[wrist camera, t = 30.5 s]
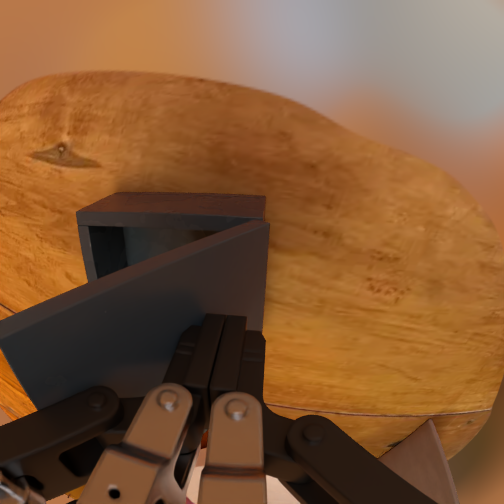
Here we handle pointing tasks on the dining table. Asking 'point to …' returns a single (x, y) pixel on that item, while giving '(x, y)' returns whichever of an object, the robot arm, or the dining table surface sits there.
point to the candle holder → (277, 494)
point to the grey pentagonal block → (423, 464)
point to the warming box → (155, 225)
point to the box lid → (136, 317)
